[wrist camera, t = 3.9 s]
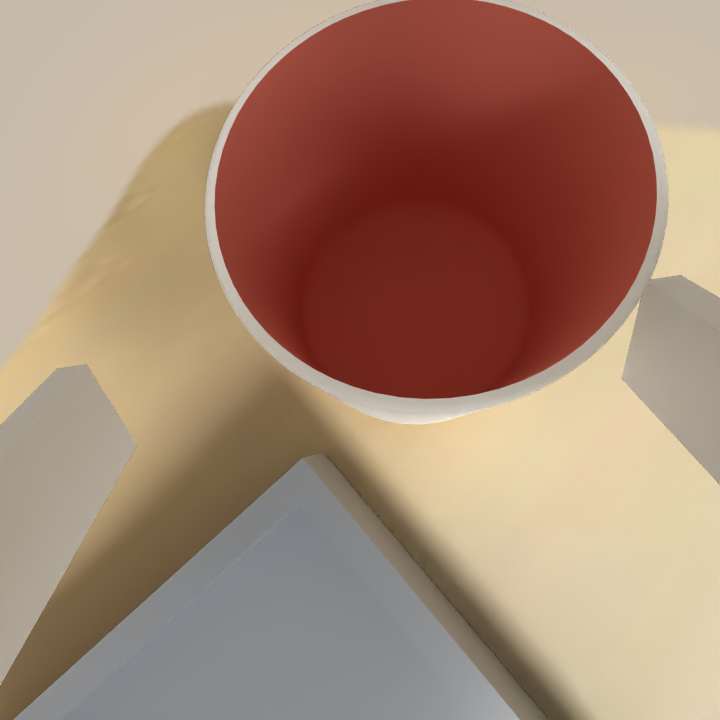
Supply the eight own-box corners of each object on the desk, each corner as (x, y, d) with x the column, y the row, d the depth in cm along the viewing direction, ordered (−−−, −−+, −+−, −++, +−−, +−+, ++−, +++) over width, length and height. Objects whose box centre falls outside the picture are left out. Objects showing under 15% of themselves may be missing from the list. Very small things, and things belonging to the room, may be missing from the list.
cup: (258, 327, 19) (114, 219, 10) (397, 170, 20) (394, -79, 10) (428, 474, 18) (465, 525, 8) (574, 295, 18) (774, 137, 9)
